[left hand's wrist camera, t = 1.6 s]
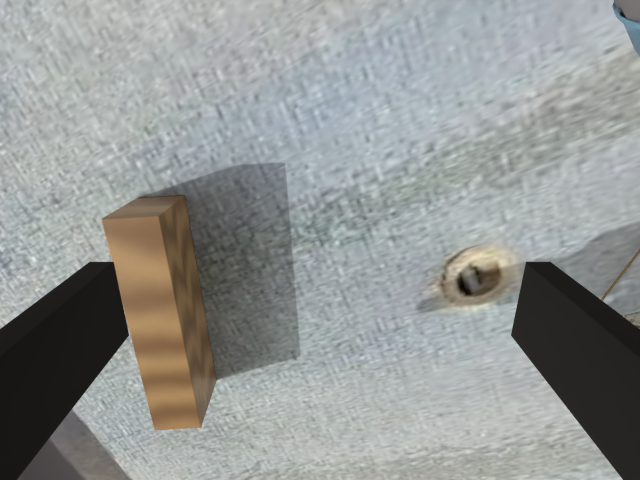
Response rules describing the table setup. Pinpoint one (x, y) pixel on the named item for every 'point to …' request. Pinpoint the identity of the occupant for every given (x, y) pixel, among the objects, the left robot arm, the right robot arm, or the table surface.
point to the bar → (163, 307)
